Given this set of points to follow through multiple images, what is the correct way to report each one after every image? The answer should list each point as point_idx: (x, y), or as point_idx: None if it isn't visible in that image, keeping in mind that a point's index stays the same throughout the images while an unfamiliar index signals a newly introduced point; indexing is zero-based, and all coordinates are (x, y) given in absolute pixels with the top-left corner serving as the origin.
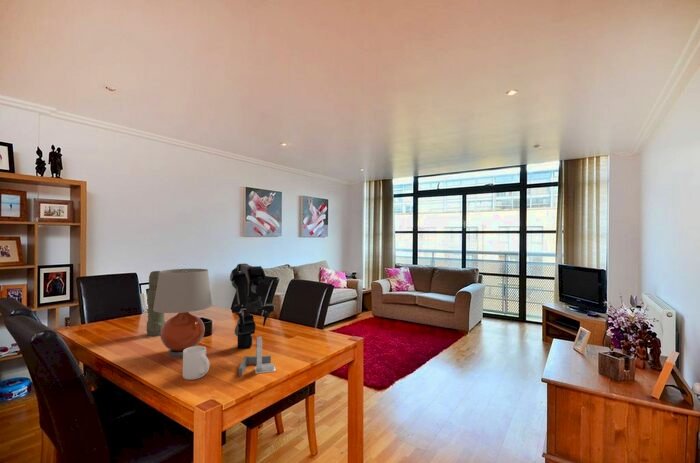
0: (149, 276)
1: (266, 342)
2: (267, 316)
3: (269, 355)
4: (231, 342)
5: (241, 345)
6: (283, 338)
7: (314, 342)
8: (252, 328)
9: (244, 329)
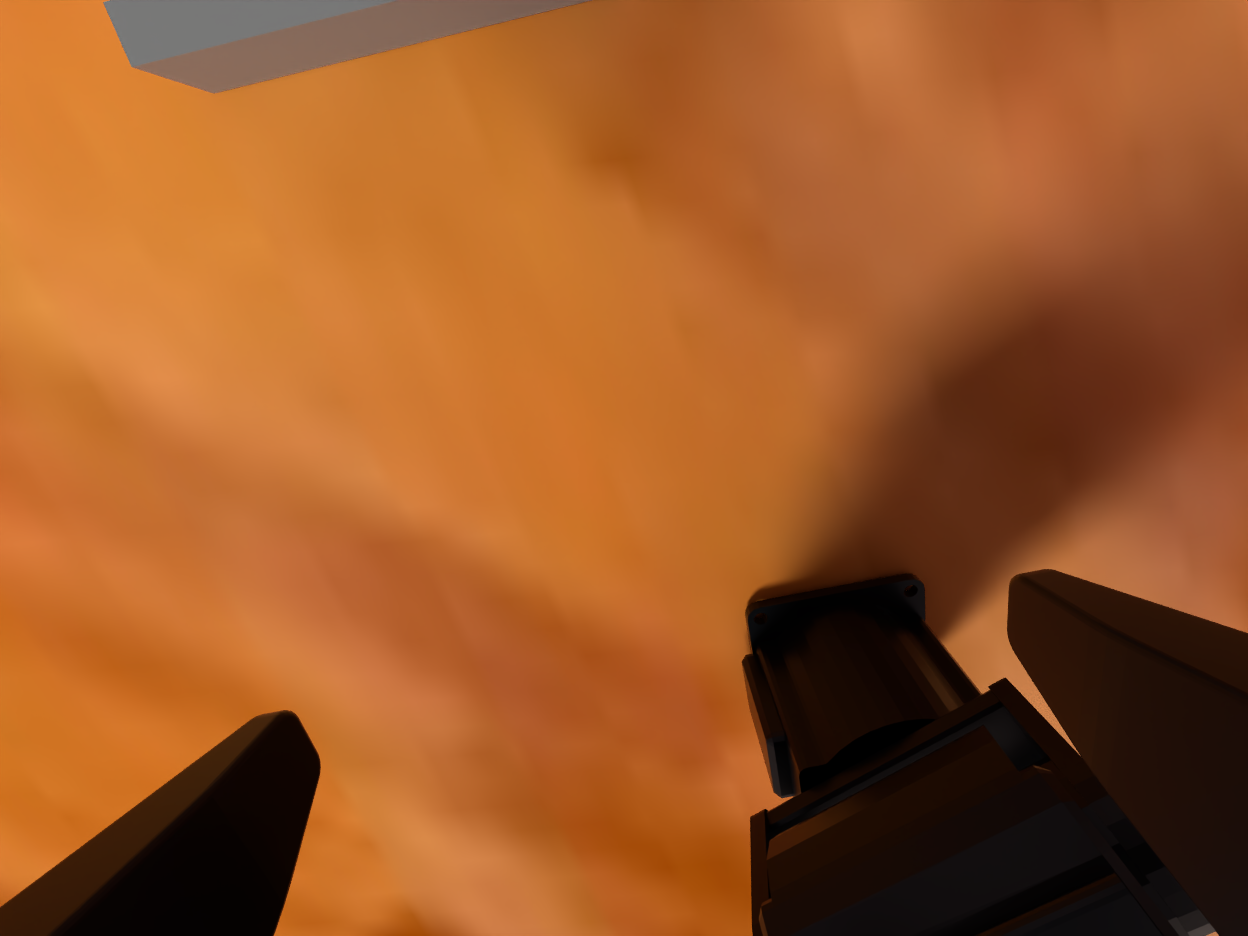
0: None
1: (610, 789)
2: None
3: (156, 56)
4: None
5: (871, 615)
6: (465, 904)
7: (49, 840)
8: (789, 861)
9: (947, 783)
